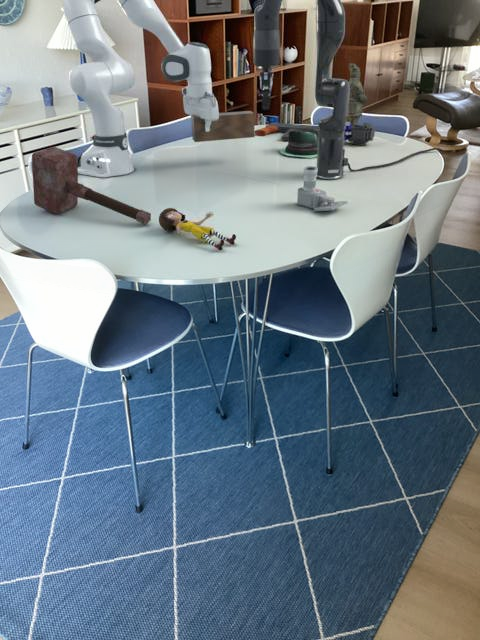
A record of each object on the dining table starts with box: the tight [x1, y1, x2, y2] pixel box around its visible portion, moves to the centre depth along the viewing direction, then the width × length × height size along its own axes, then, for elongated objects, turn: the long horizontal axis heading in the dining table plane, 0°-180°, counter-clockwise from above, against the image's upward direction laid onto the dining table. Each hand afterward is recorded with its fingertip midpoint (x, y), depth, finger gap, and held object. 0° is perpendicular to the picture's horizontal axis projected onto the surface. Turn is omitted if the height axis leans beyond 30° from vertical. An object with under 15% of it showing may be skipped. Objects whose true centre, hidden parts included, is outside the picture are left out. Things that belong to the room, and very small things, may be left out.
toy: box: [344, 122, 376, 146], centre depth 244 cm, size 9×9×15 cm
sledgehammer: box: [31, 146, 152, 226], centre depth 169 cm, size 17×10×40 cm
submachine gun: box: [254, 122, 319, 141], centre depth 263 cm, size 32×3×25 cm
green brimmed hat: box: [279, 128, 318, 159], centre depth 234 cm, size 15×19×20 cm
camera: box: [296, 165, 349, 212], centre depth 171 cm, size 9×12×15 cm
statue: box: [345, 62, 368, 127], centre depth 262 cm, size 11×9×30 cm
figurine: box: [158, 207, 237, 251], centre depth 153 cm, size 13×8×25 cm
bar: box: [190, 110, 256, 143], centre depth 214 cm, size 24×5×9 cm, turn 105°
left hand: (202, 129), depth 213 cm, fingers closed on bar, 6 cm apart
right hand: (266, 107), depth 167 cm, fingers open, 8 cm apart
